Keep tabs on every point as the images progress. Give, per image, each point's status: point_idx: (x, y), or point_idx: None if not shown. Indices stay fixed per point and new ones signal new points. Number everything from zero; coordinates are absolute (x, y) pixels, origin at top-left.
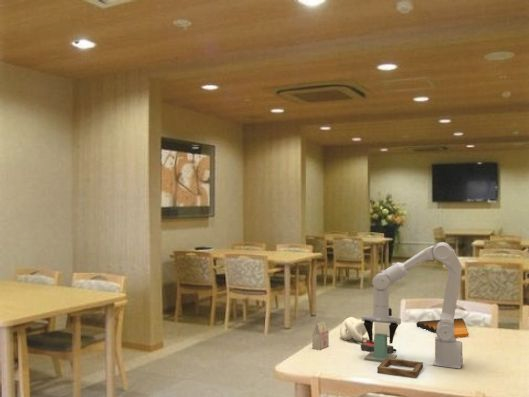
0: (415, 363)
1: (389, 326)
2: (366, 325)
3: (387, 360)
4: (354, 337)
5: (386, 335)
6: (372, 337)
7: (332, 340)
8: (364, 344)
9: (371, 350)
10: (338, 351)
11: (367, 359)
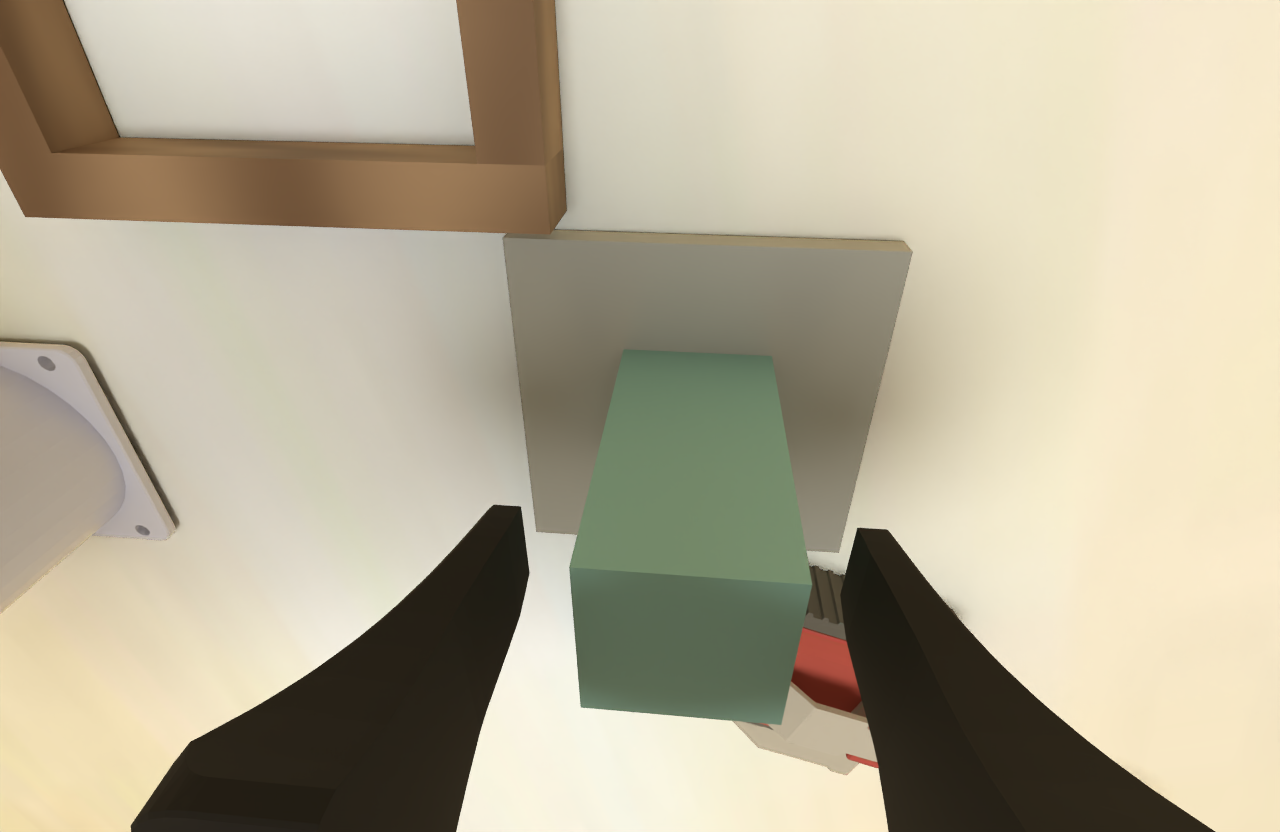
0: (95, 150)
1: (320, 785)
2: (1125, 825)
3: (481, 66)
4: None
5: (579, 663)
6: (849, 634)
7: (1266, 792)
8: None
9: (840, 590)
10: (1272, 494)
11: (854, 243)
